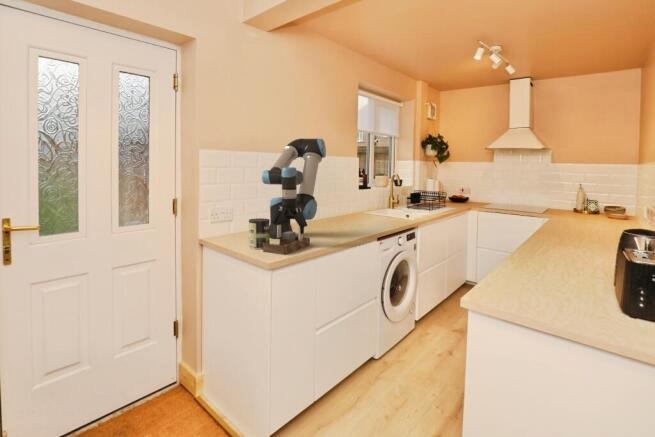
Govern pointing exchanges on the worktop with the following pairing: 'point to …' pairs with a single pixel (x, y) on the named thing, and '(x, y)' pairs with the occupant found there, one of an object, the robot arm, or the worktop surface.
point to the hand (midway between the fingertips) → (289, 238)
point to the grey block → (288, 235)
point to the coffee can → (258, 233)
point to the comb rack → (286, 246)
